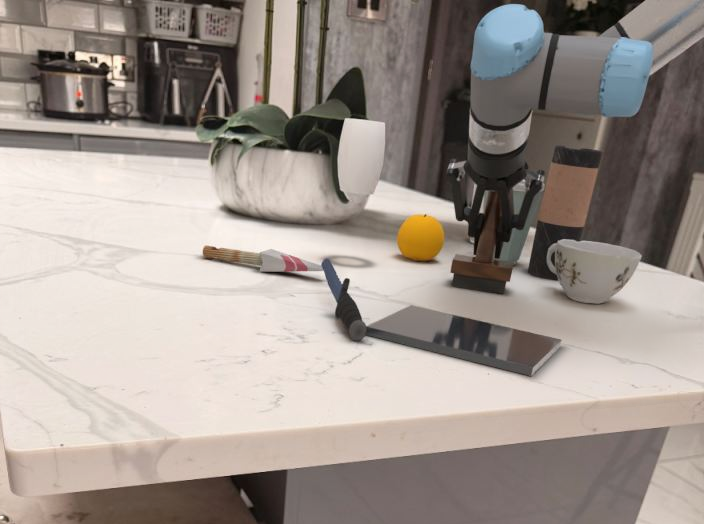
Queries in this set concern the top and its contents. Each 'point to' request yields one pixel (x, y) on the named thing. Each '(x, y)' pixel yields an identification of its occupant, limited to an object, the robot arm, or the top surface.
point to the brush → (484, 256)
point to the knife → (344, 302)
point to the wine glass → (360, 158)
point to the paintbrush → (262, 259)
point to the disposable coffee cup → (518, 237)
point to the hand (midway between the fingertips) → (488, 249)
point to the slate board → (466, 339)
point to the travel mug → (563, 204)
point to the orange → (420, 237)
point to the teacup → (592, 269)
